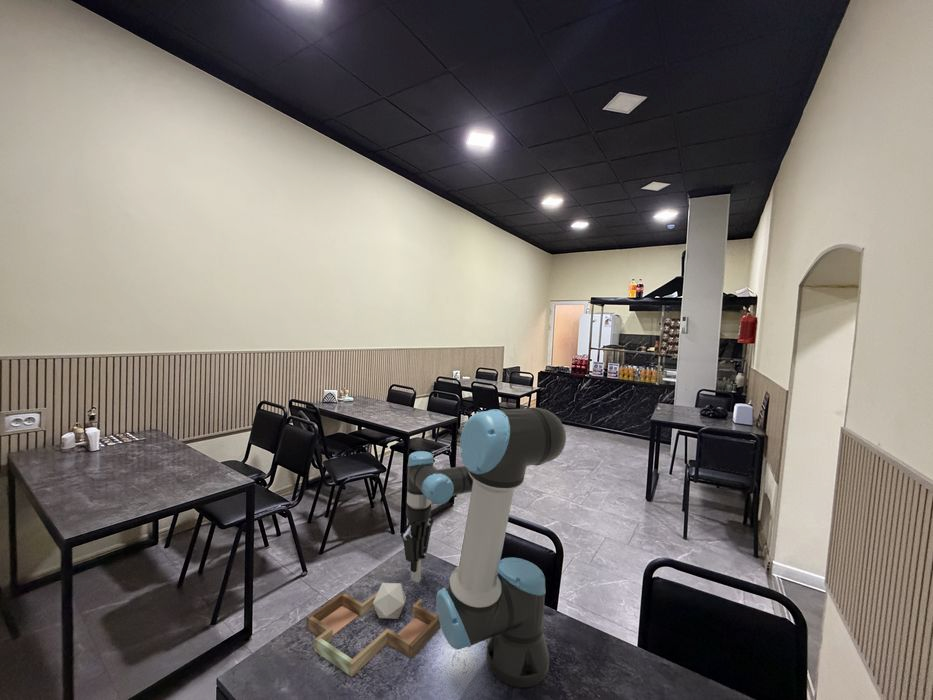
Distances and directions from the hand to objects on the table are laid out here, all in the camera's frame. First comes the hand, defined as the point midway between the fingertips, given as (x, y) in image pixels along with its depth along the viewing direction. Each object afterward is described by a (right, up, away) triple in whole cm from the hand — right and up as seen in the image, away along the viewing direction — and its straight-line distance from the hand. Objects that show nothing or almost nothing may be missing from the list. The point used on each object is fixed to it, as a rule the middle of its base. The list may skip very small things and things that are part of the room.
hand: (415, 579), depth 117 cm
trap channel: (-9, -4, -15) cm, 18 cm away
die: (-6, -4, -10) cm, 12 cm away
